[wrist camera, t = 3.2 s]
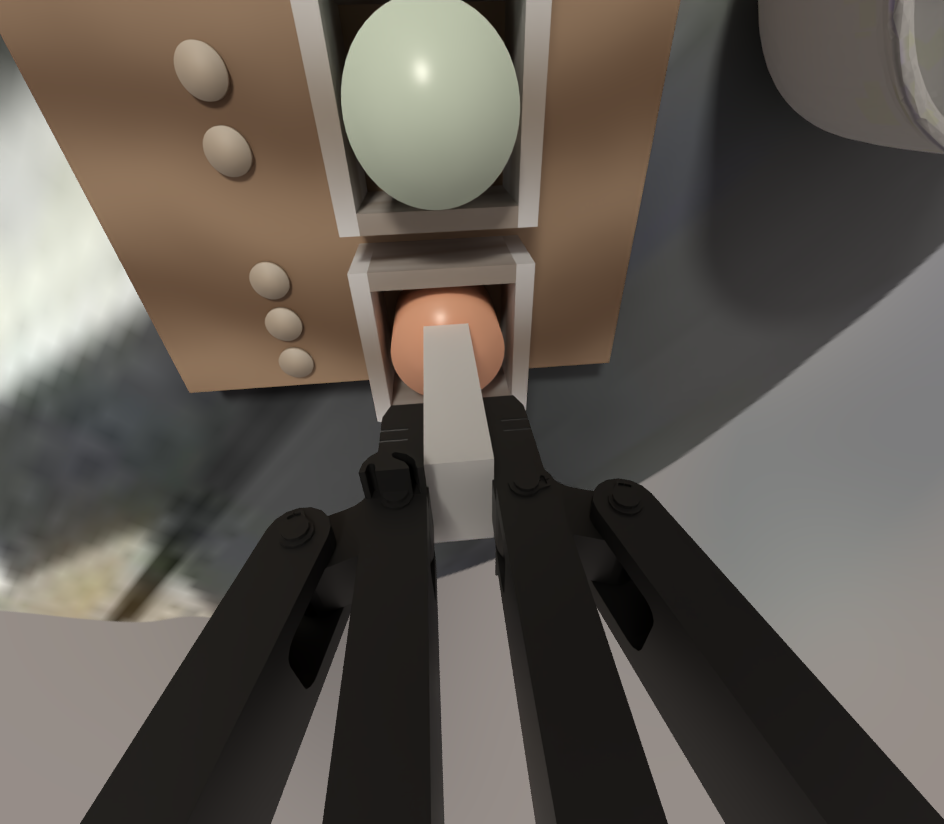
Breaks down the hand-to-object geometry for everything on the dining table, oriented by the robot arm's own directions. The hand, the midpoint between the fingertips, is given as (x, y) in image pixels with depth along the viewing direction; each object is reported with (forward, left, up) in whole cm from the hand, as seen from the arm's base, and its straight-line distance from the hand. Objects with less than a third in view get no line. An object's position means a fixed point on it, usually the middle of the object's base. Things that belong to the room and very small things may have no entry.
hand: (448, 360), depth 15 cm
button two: (-7, 0, -2) cm, 7 cm away
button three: (0, 0, -3) cm, 3 cm away
